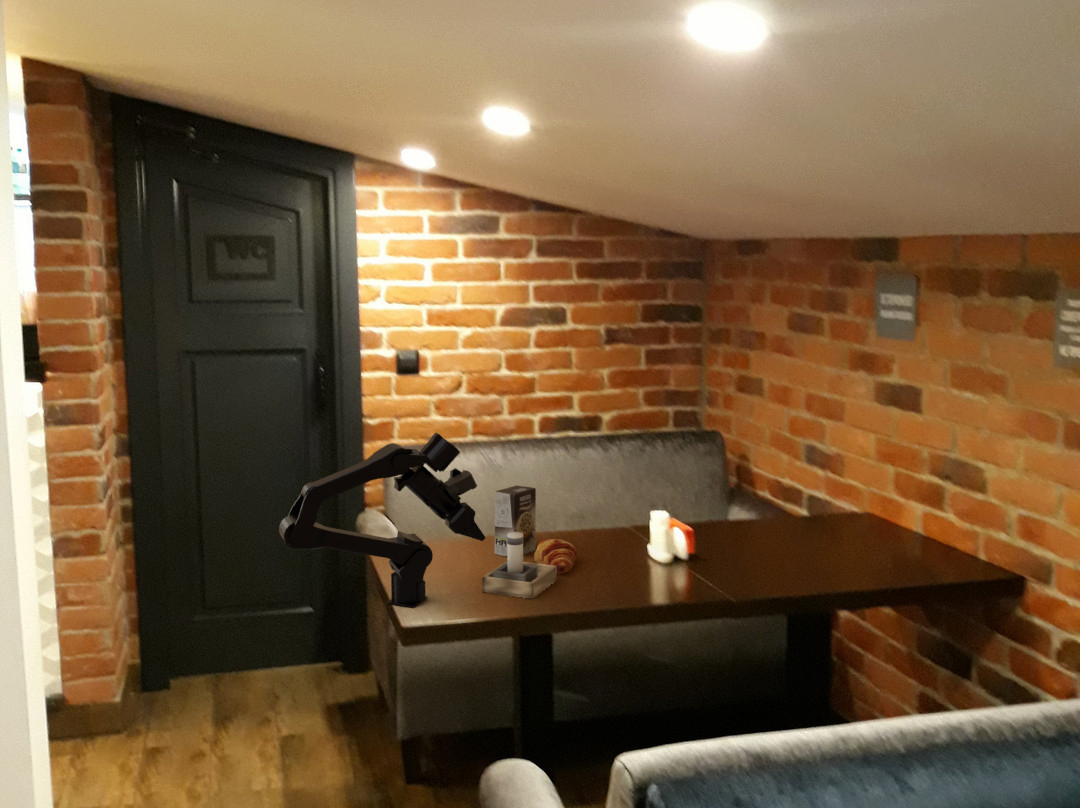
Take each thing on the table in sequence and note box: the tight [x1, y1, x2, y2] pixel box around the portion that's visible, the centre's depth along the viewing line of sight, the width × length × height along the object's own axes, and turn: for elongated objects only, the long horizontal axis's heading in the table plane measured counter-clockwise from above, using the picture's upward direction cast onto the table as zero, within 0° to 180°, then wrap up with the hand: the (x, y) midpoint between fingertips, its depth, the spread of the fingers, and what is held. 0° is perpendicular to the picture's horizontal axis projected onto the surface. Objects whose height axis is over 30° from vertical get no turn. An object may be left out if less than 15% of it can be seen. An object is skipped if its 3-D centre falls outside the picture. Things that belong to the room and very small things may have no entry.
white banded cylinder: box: [506, 532, 524, 574], centre depth 237 cm, size 4×4×12 cm
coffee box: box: [494, 484, 537, 557], centre depth 265 cm, size 9×6×16 cm
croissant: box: [533, 538, 578, 575], centre depth 256 cm, size 21×10×8 cm, turn 11°
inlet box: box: [481, 560, 558, 600], centre depth 240 cm, size 12×14×5 cm
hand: (478, 533), depth 233 cm, fingers open, 9 cm apart
